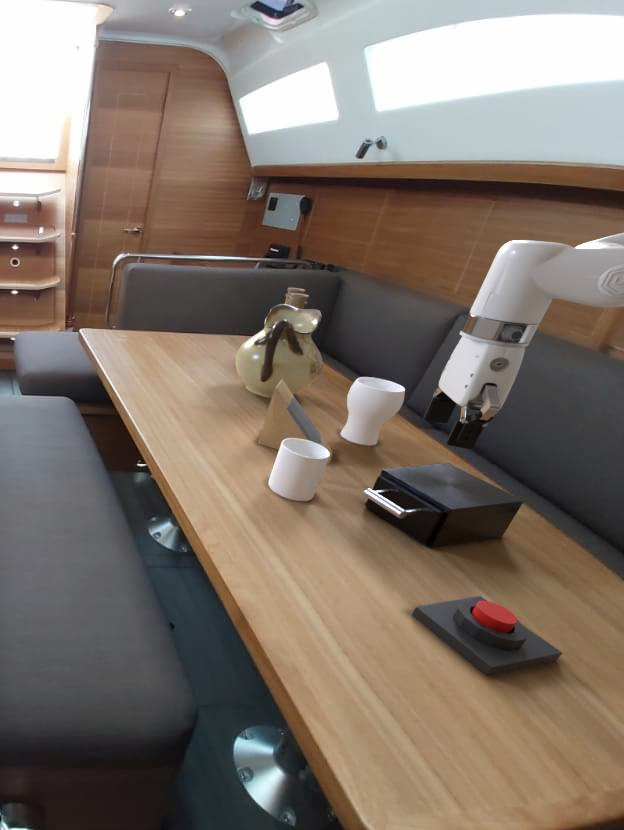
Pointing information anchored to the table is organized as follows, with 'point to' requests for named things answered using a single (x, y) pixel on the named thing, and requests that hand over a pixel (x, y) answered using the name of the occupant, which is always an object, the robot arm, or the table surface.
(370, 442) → the cup
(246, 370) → the pitcher
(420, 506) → the black drawer
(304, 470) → the mug
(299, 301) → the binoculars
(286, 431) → the sandwich container
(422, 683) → the table surface
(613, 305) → the robot arm
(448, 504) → the black drawer box
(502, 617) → the button
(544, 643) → the control block
